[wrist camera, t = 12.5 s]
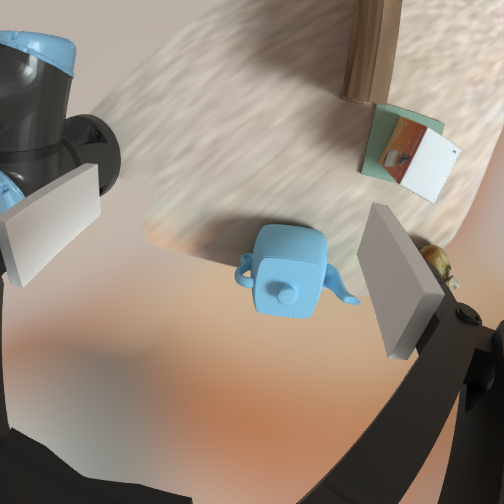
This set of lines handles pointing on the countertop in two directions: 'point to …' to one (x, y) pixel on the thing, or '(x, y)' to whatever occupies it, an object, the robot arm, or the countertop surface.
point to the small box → (419, 158)
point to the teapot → (290, 271)
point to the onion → (439, 263)
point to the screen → (372, 51)
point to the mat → (388, 136)
